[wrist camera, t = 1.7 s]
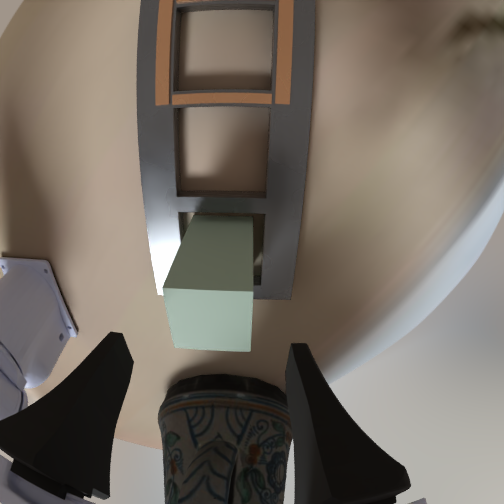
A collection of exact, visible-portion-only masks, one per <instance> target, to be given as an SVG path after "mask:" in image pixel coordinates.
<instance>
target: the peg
mask: <svg viewBox="0 0 504 504" xmlns="http://www.w3.org/2000/svg"><path fill="white" fill-rule="evenodd" d="M162 291H163V296H164V302H165V307H166V312H167V316H168V321H169V326H170V330H171V335H172V339H173V343H174V348H186V349H199V350H216V351H239V352H251V331H252V310H253V217H252V216H210V215H193V217H192V220H191V222H190V224H189V226H188V228H187V231H186V233H185V235H184V237H183V239H182V242H181V244H180V246H179V249H178V251H177V253H176V255H175V258H174V260H173V262H172V265H171V267H170V269H169V272H168V274H167V277H166V279H165V281H164V284H163V286H162Z"/></svg>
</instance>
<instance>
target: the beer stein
mask: <svg viewBox="0 0 504 504" xmlns="http://www.w3.org/2000/svg"><path fill="white" fill-rule="evenodd" d="M158 424H159V427H160V431H161V437H162V446H163V464H164V487H165V504H283V501H284V492H285V482H286V470H287V462H288V456H289V450H290V445H291V441H292V439H293V434H292V427H291V421H290V415H289V408H288V402H287V395H286V394H285V393H284V392H283V391H281V390H280V389H279V388H278V387H276V386H274V385H271V384H269V383H266V382H264V381H261V380H259V379H257V378H250V377H241V376H234V375H227V374H217V375H200V376H196V377H192V378H188V379H184V380H180V381H179V382H178V383H176V384H175V385H174V386H172V387H171V388H170V389H169V390H168V392H167V395H166V397H165V400H164V401H163V403H162V405H161V406H160V409H159V413H158Z"/></svg>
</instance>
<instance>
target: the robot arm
mask: <svg viewBox="0 0 504 504" xmlns="http://www.w3.org/2000/svg"><path fill="white" fill-rule="evenodd" d="M0 266H1V269H2V271H3V274H4V276H3V277H2V278H1V279H0V449H1V450H2V451H4V452H5V453H6V454H8V455H9V456H11V457H12V458H13V459H14V460H13V463H12V462H11V461H9V460H8V459H6V458H4V457H3V456H1V455H0V502H1V503H2V504H95V503H92V502H89V501H87V500H84V499H83V498H84V496H86V497H88V498H91V496H95V497H97V498H100V499H103V500H105V499H107V498H109V497H110V462H111V452H112V445H113V439H114V433H115V428H116V424H117V420H118V417H119V414H120V411H121V407H122V404H123V401H124V398H125V395H126V392H127V389H128V386H129V383H130V379H131V374H132V369H133V364H134V361H133V359H132V357H131V354H130V352H129V349H128V347H127V344H126V341H125V339H124V336H123V333H117V332H110V333H109V334H108V335H107V336H106V337H105V338H104V339H103V340H102V341H101V342H100V343H99V344H98V345H97V346H96V348H95V349H94V350H93V351H92V352H91V353H90V354H89V355H88V356H87V357H86V358H85V359H84V360H83V361H82V363H81V364H80V365H79V366H78V367H77V368H76V369H75V370H74V371H73V372H72V373H71V374H70V375H69V376H67V377H66V378H65V379H64V380H63V381H62V382H61V383H60V384H59V385H58V386H56V387H55V388H54V389H53V390H51V391H50V392H49V393H48V394H46V395H45V396H43V397H42V398H40V399H39V400H38V401H36V402H35V403H33V404H32V405H30V406H28V398H27V394H26V392H25V390H24V388H34V387H37V386H39V385H40V384H42V383H43V382H44V381H45V380H46V379H47V378H48V377H49V375H50V374H51V372H52V370H53V368H54V366H55V364H56V362H57V360H58V358H59V356H60V354H61V352H62V351H63V349H64V347H65V345H66V343H67V341H68V340H69V338H70V336H71V337H77V335H78V332H77V330H76V328H75V326H74V324H73V322H72V319H71V317H70V315H69V313H68V310H67V308H66V306H65V303H64V301H63V298H62V296H61V293H60V291H59V288H58V286H57V283H56V280H55V278H54V275H53V272H52V269H51V266H50V264H49V262H48V261H46V260H37V259H22V258H8V257H1V258H0ZM285 376H286V395H287V402H288V408H289V415H290V421H291V427H292V434H293V441H294V461H295V462H294V464H295V503H294V504H394V503H396V495H398V494H400V493H402V492H404V491H406V490H408V489H409V488H410V487H411V484H410V479H409V476H408V474H407V471H406V469H405V467H404V466H403V465H401V464H400V463H399V462H397V461H396V460H394V459H393V458H392V457H391V456H389V455H388V454H387V453H386V452H385V451H383V450H382V449H381V448H380V447H379V446H378V445H377V444H376V443H374V441H373V440H372V439H371V438H370V437H369V436H367V435H366V433H365V432H364V431H363V430H362V429H361V428H360V427H359V426H358V425H357V424H356V423H355V421H354V420H353V419H352V418H351V417H350V415H349V414H348V413H347V412H346V410H345V409H344V407H343V406H342V405H341V403H340V402H339V400H338V399H337V398H336V396H335V395H334V393H333V392H332V390H331V388H330V387H329V385H328V383H327V382H326V380H325V378H324V377H323V375H322V373H321V371H320V369H319V368H318V366H317V364H316V362H315V360H314V358H313V356H312V354H311V351H310V349H309V347H308V345H307V344H306V343H291V347H290V352H289V357H288V362H287V367H286V371H285ZM409 504H426V499H425V498H422V499H420V500H417V501H414V502H411V503H409Z"/></svg>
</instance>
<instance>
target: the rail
mask: <svg viewBox="0 0 504 504" xmlns="http://www.w3.org/2000/svg"><path fill="white" fill-rule="evenodd" d="M229 9H249V10H273V40H272V66H271V90H244V89H217V90H190V91H178V75H179V43H180V24H181V13H183V12H192V11H205V10H229ZM314 40H315V0H141V6H140V16H139V29H138V47H137V125H138V145H139V159H140V171H141V182H142V192H143V201H144V209H145V217H146V225H147V232H148V239H149V245H150V252H151V258H152V264H153V269H154V275H155V280H156V285H157V291H158V295H163V291H162V286H163V284H164V281H165V279H166V277H167V274H168V272H169V269H170V267H171V265H172V262H173V260H174V258H175V255H176V253H177V251H178V249H179V246H180V244H181V242H182V239H183V237H184V227H183V214H182V212H219V213H258V214H264V231H263V248H262V265H261V276H253V299H281V300H291V294H292V287H293V280H294V272H295V265H296V257H297V249H298V241H299V233H300V225H301V216H302V207H303V198H304V188H305V178H306V168H307V156H308V145H309V132H310V119H311V104H312V87H313V67H314ZM210 106H245V107H270V113H269V135H268V155H267V175H266V192H242V191H181V182H180V160H179V126H178V108H184V107H210Z"/></svg>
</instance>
